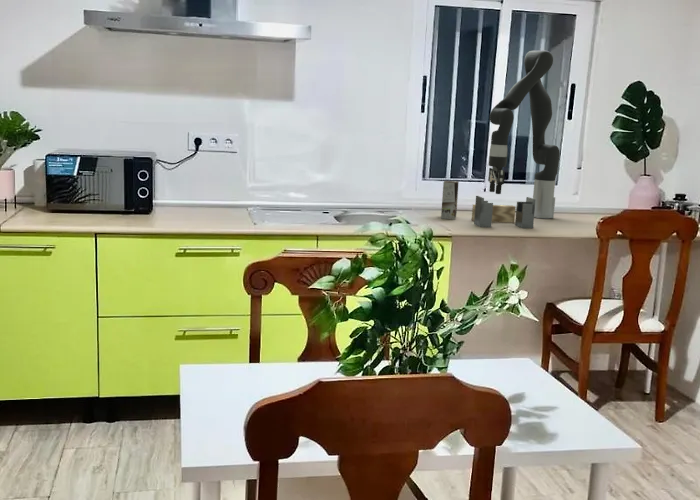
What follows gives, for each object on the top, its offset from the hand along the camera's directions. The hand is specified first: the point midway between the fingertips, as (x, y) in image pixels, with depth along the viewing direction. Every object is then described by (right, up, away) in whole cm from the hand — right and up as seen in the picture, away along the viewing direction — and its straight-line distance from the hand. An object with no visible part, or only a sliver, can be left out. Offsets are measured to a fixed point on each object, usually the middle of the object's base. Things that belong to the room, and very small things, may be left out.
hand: (494, 193), depth 326 cm
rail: (0, -12, +2) cm, 13 cm away
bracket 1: (-8, -15, -12) cm, 21 cm away
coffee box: (-19, -11, +7) cm, 23 cm away
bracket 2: (+10, -15, -10) cm, 21 cm away
